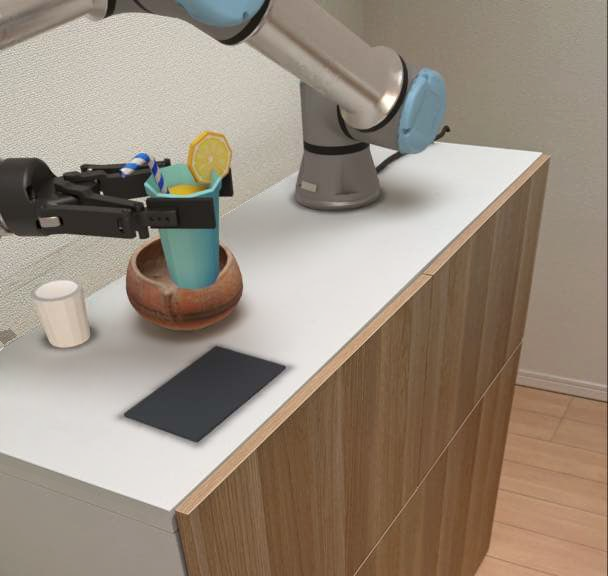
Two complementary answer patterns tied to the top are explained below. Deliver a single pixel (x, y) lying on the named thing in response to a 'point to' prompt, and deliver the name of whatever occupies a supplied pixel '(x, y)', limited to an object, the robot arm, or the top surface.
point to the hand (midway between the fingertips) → (222, 197)
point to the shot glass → (62, 311)
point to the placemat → (205, 393)
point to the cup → (190, 184)
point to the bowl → (180, 290)
